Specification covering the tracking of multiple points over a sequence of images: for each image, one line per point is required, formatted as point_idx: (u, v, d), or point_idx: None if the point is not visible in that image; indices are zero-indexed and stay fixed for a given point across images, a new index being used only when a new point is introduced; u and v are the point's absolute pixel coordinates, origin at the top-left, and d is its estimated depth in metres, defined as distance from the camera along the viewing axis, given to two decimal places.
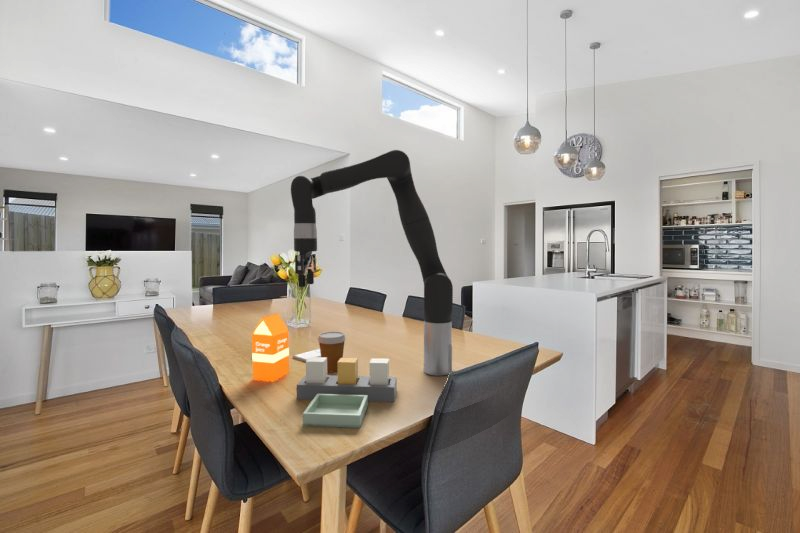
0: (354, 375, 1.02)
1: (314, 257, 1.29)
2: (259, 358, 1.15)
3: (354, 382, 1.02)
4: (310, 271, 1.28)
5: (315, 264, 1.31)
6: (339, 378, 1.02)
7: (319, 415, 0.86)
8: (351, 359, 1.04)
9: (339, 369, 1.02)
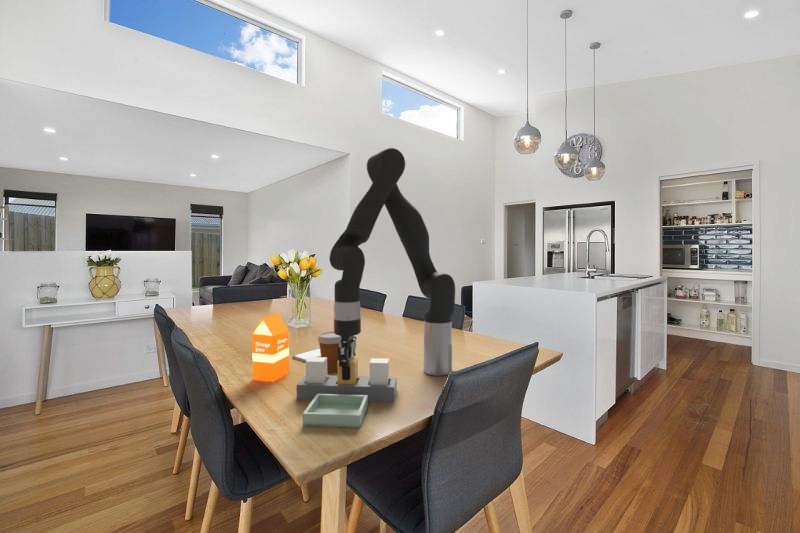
0: (354, 375, 1.02)
1: None
2: (259, 358, 1.15)
3: (354, 382, 1.02)
4: None
5: (355, 348, 1.09)
6: (339, 378, 1.02)
7: (319, 415, 0.86)
8: (351, 359, 1.04)
9: (339, 369, 1.02)
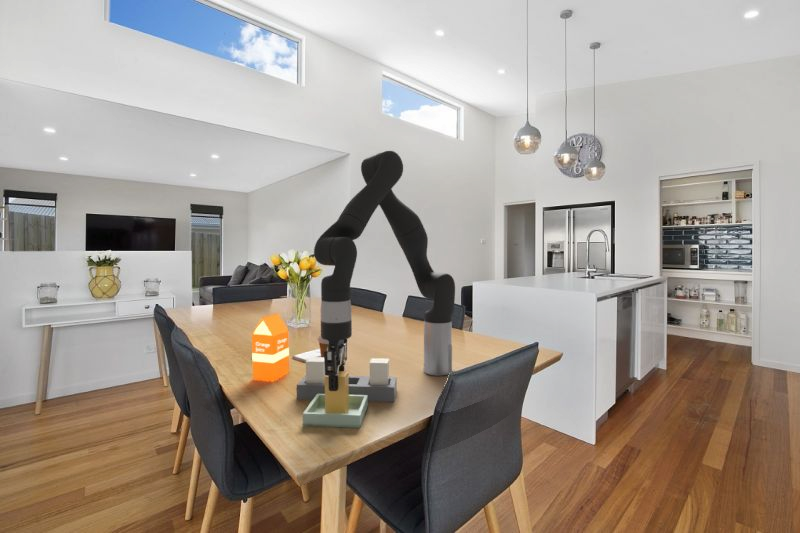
0: (344, 391, 0.89)
1: (346, 342, 0.96)
2: (259, 358, 1.15)
3: (344, 399, 0.89)
4: None
5: (346, 351, 0.97)
6: (326, 394, 0.89)
7: (319, 415, 0.86)
8: (340, 373, 0.91)
9: (327, 384, 0.89)
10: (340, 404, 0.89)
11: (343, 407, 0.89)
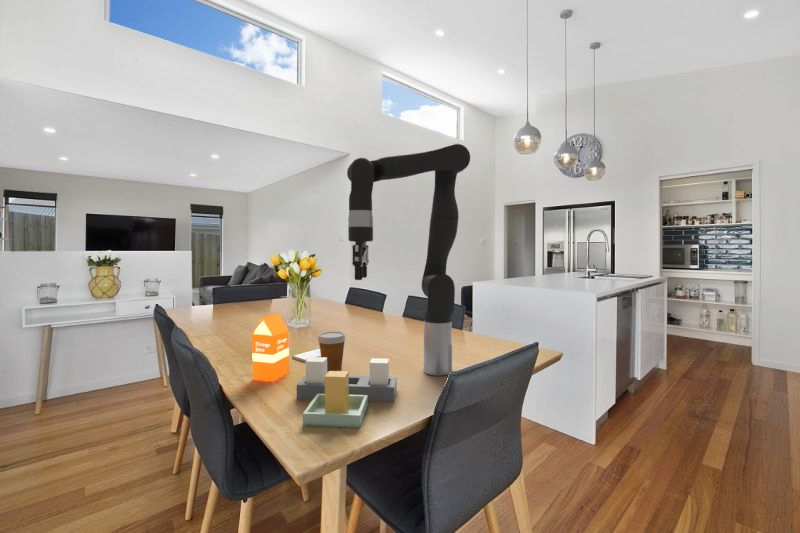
0: (344, 391, 0.89)
1: (367, 248, 1.19)
2: (259, 358, 1.15)
3: (344, 399, 0.89)
4: (363, 263, 1.17)
5: None
6: (326, 394, 0.89)
7: (319, 415, 0.86)
8: (340, 373, 0.91)
9: (327, 384, 0.89)
10: (340, 404, 0.89)
11: (343, 407, 0.89)
